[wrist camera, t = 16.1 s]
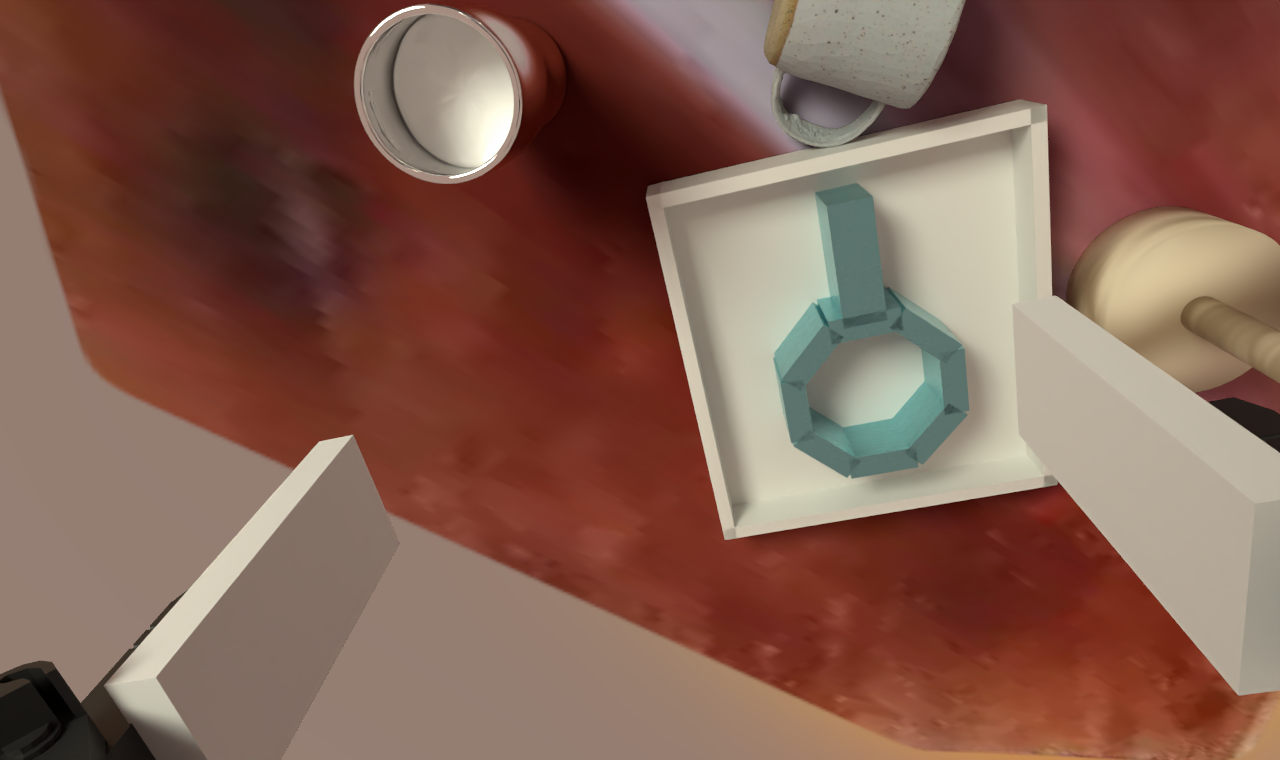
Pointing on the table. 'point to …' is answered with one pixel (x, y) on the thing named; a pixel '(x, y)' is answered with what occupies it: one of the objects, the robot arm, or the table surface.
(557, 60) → the beer glass
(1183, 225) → the wooden peg stand
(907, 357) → the tray
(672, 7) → the table surface
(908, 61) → the ceramic mug
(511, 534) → the table surface
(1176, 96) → the table surface
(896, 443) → the ring
